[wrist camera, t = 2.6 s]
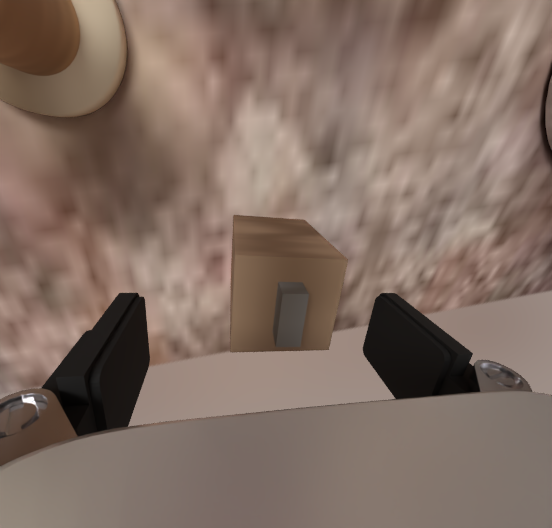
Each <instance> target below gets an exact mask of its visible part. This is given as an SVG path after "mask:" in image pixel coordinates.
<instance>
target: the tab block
mask: <svg viewBox="0 0 552 528" xmlns="http://www.w3.org/2000/svg"><path fill="white" fill-rule="evenodd" d="M347 263H348V259H347V258H346V257H344V256H343V255H342V254H341V253H340V252H339V251H338V250H337V249H336V248H335V247H334V246H332V245H331V244H330V243H329V242H328V241H327V240H326V239H325V238H324V237H323V236H322V235H320V234H319V233H318V232H317V231H316V230H315V229H314V228H313V227H312V226H311V225H310V224H308V223H307V222H306V221H305V220H299V219H284V218H269V217H255V216H240V215H234V216H233V239H232V263H231V325H230V352H259V351H260V352H263V351H304V350H329V346H330V341H331V337H332V332H333V327H334V323H335V318H336V313H337V309H338V304H339V300H340V295H341V290H342V286H343V281H344V277H345V272H346V267H347Z"/></svg>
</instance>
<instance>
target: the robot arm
mask: <svg viewBox="0 0 552 528" xmlns="http://www.w3.org/2000/svg"><path fill="white" fill-rule="evenodd" d="M545 126H546V131H547V137H548V142H549V145H550V147H551V150H552V76H551V79H550V82H549V88H548V94H547V100H546V112H545ZM363 353H364V355H365V357H366V358H367V360H368V361H369V362H370V364H371V365H372V366H373V368H374V369H375V370H376V372H377V373H378V375H379V376H380V378H381V379H382V380H383V382H384V383H385V385H386V386H387V387H388V389H389V390H390V392H391V393H392V394H393V395H394V397H395V398H396V399H392V400H382V401H370V402H359V403H349V404H338V405H327V406H317V407H306V408H296V409H286V410H276V411H266V412H256V413H246V414H236V415H227V416H216V417H206V418H197V419H186V420H176V421H166V422H159V423H152V424H144V425H137V426H130V427H128V425H129V422H130V419H131V416H132V413H133V410H134V407H135V404H136V401H137V399H138V396H139V393H140V390H141V387H142V384H143V382H144V378H145V376H146V373H147V370H148V367H149V361H150V355H149V343H148V332H147V320H146V308H145V299H144V297H139V294H138V293H119V294H118V296H117V297H116V298H115V300H114V301H113V302H112V304H111V305H110V306H109V308H108V309H107V310H106V311H105V313H104V314H103V315H102V317H101V318H100V319H99V321H98V322H97V323H96V325H95V326H94V327H93V329H92V330H89V331H86V332H85V333H84V334H83V335H82V337H81V338H80V339H79V341H78V342H77V343H76V344H75V346H74V347H73V348H72V349H71V351H70V352H69V353H68V355H67V356H66V357H65V358H64V360H63V361H62V362H61V364H60V365H59V366H58V367H57V369H56V370H55V371H54V372H53V374H52V375H51V376H50V378H49V379H48V380H47V381H46V383H45V384H44V385H43V387H42V388H41V389H28V390H23V391H19V392H16V393H14V394H11V395H8V396H6V397H4V398H2V399H0V528H552V395H548V394H543V393H535V392H532V390H531V388H530V386H529V384H528V383H527V381H526V380H525V379H524V378H523V377H522V376H521V375H519V374H518V373H516V372H515V371H513V370H512V369H510V368H508V367H506V366H504V365H501V364H499V363H496V362H493V361H489V360H478V361H476V362H475V364H474V366H472V365H471V364H470V363H469V361H470V359H471V357H472V354H473V353H471V352H470V351H469V350H468V349H466V348H465V347H464V346H462V345H461V344H460V343H459V342H457V341H456V340H455V339H454V338H452V337H451V336H450V335H449V334H447V333H446V332H445V331H443V330H442V329H441V328H439V327H438V326H437V325H436V324H434V323H433V322H432V321H431V320H429V319H428V318H427V317H425V316H424V315H423V314H422V313H420V312H419V311H418V310H416V309H415V308H414V307H413V306H411V305H410V304H409V303H407V302H406V301H405V300H404V299H402V298H401V297H400V296H398V295H397V294H395V293H381V294H380V295H379V296H378V297H377V298H376V300H375V303H374V307H373V311H372V315H371V319H370V322H369V326H368V331H367V334H366V338H365V342H364V346H363Z"/></svg>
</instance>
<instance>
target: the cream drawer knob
mask: <svg viewBox="0 0 552 528" xmlns="http://www.w3.org/2000/svg"><path fill="white" fill-rule="evenodd" d="M126 60H127V41H126V34H125V29H124V25H123V21H122V17H121V14H120V11H119V9H118V6H117V3H116V1H115V0H0V99H1V100H3V101H5V102H6V103H8V104H11V105H13V106H15V107H18V108H20V109H23V110H26V111H30V112H33V113H38V114H43V115H48V116H54V117H64V118H69V117H79V116H83V115H87V114H89V113H92V112H94V111H96V110H98V109H99V108H101V107H103V106H104V105H105V104H106V103H107V102H108V101H109V100H110V99H111V98H112V97H113V96H114V94H115V93H116V91H117V90H118V88H119V86H120V84H121V81H122V79H123V76H124V72H125V68H126Z"/></svg>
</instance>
